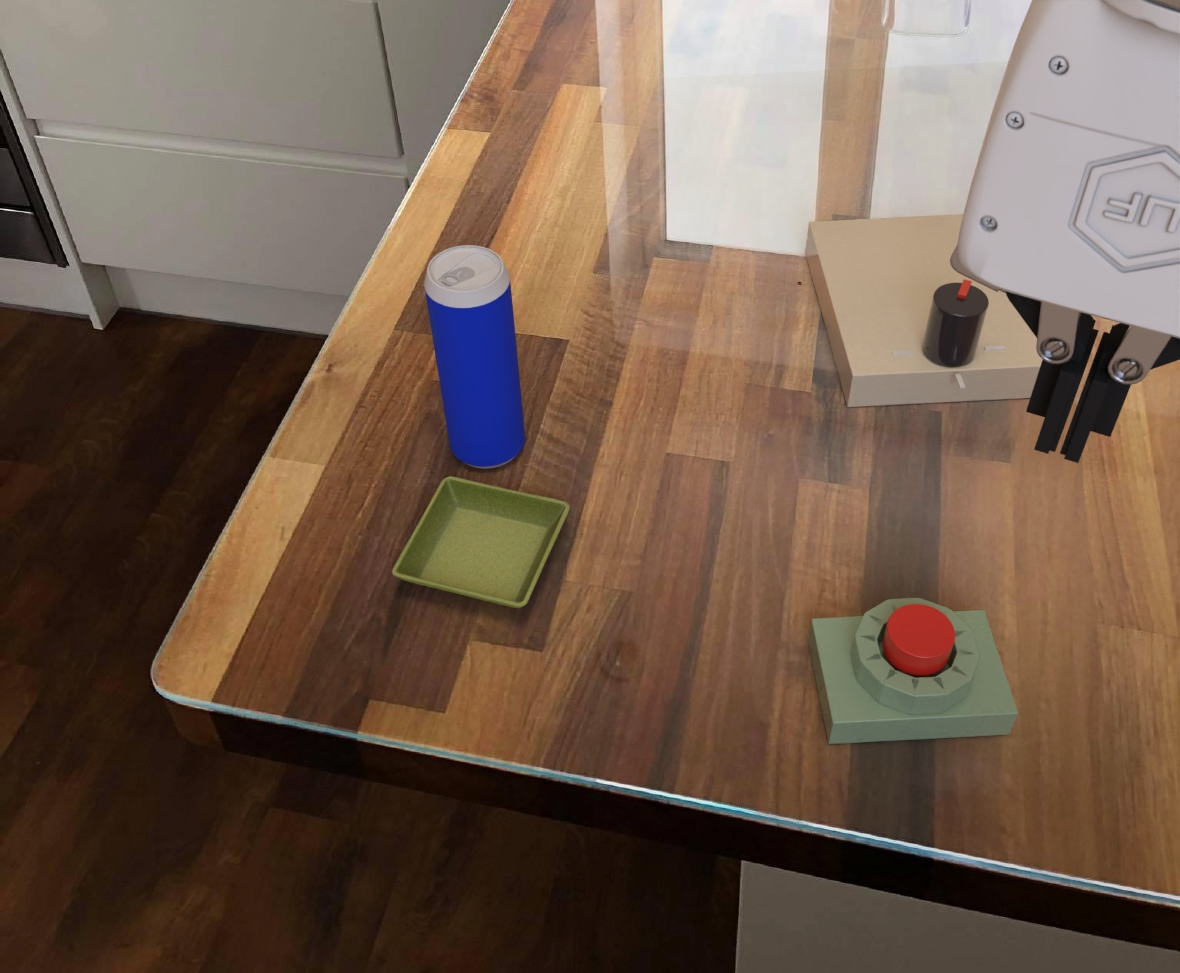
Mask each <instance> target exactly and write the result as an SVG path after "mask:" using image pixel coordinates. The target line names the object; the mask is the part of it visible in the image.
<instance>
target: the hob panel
mask: <svg viewBox="0 0 1180 973" xmlns="http://www.w3.org/2000/svg"><path fill="white" fill-rule="evenodd" d="M963 214H964V213H956V214H937V215H936V214H935V215H918V216H915V215H914V216H896V217H895V216H894V217H877V218H876V217H874V218H859V219H857V218H855V219H836V220H834V219H833V220H817V221H815V220H814V221H813V220H812V221H809V222H808V229H807V237H806V242H805V243H806V244H805V251H804V252H805V256H806V260H807V263H808V268H809V271H810V275H811V279H812V282H813V286H814V290H815V294H816V297H817V301H818V305H819V308H820V311H821V316H822V319H823V324H824V326H825V330H826V333H827V338H828V341H829V344H830V348H831V353H832V355H833V359H834V363H835V367H836V370H837V374H838V377H839V381H840V385H841V388H842V393H843V396H844V400H845V403H846V407H847V408H859V407H861V408H863V407H875V406H876V407H877V406H897V405H898V406H900V405H901V406H902V405H919V404H940V403H959V402H978V401H979V402H980V401H995V400H996V401H998V400H999V401H1000V400H1016V399H1018V400H1019V399H1030V397H1031V394H1032V391H1033V388H1034V385H1035V382H1036V379H1037V375H1038V372H1039V369H1040V366H1041V363H1042V360H1043V359H1042V358H1041V357H1040V356H1039V355H1038V353H1037V349H1036V345H1037V338H1036V336H1035V335H1034V333H1033V332H1032V331H1031V329H1030V328H1029V327H1028V325H1027V324H1026V323H1025V321H1024V320H1023V318H1022V317H1021V316H1020V314H1019V313H1018V312H1017V310H1016V309H1015V308H1014V306H1013V305H1012V303H1011V302H1010V301H1009V299H1008V297H1007V295H1006V293H1004V292H1002V291H1000V290H998V292H996V291H994V290H992V289H990V288H988V287H986V286H984V285H982V284H980V283H978V282H976V281H974V280H972V279H970V278H968V277H966V276H964V275H962V274H960V273H958V272H956V271H955V270H954V269H953V268H952V266H951V264H950V258H951V255H952V253H953V251H954V249H955V247H956V246H957V244H958V237H959V231H960V226H961V222H962V218H963ZM964 279H965V280H969V281H972V283H971V285H973V286H975V287H977V288H979V289H980V290H982V291H983V292H984V293H985V294H986V296H987V298H988V301H989V305H988V309H987V313H986V316H985V320H984V324H983V328H982V331H981V335H980V339H979V343H978V346H977V350H976V354H975V357H974V359H973V360H972V361H971V362H970V363H968V364H967V365H964V366H961V367H944V366H941V365H938V364H935V363H933V362H932V361H930V360H929V359H928V358H927V357H926V356H925V355H924V353H923V350H922V344H923V339H924V335H925V330H926V326H927V321H928V317H929V312H930V308H931V303H932V299H933V294H934V292H935V291H936V289H937V288H939V287H940V286H942V285H944V284H948V283H962V282H963V280H964Z"/></svg>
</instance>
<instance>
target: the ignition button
mask: <svg viewBox="0 0 1180 973" xmlns="http://www.w3.org/2000/svg"><path fill="white" fill-rule="evenodd" d="M954 641H955V630H954V627H953V625H952V623H951V621H950V620H949V619H948V617H947V616H946V615H944V614H943V613H942V612H941V611H939V610H937V609H935V608H933V607H931V606H927V605H923V604H909V605H905V606H902V607H900V608H898V609H897V610H895V611H894V612H893V613H892V614H891V615H890V617H889V619H888V622H887V626H886V630H885V634H884V638H883V651H884V654H885V656H886V658H887V659H888V661H889V662H890V663H891V664H892V665H893V666H894V667H896V668H897V669H899V670H900V671H902V672H905V673H907V674H910V675H915V676H927V675H932V674H934V673H937V672H938V671H940V670H941V669H943V668H944V667H945V665H946V664H947V662H948V660H949V657H950V654H951V651H952V648H953V645H954Z"/></svg>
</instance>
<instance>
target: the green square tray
mask: <svg viewBox="0 0 1180 973" xmlns="http://www.w3.org/2000/svg"><path fill="white" fill-rule="evenodd" d="M570 510H571V506H570V504H569V503H568V502H566V501H564V500H560V499H557V498H552V497H548V496H542V495H537V494H533V493H527V492H524V491H518V490H514V489H510V488H505V487H502V486H501V487H500V486H497V485H492V484H487V483H483V482H478V481H473V480H469V479H465V478H461V477H456V476H452V475H450V476H446V477H444V478H443V479H442V480H441V482H440V483H439V485H438V486H437V488H436V491H435V492H434V494H433V496H432V498H431V499H430V501H429V503H428V505H427V507H426V509H425V511H424V513H423V514H422V516H421V518H420V520H419V521H418V523H417V525H416V527H415V528H414V530H413V531H412V534H411V535H410V538H408V541H407V542H406V544H405V546H404V548H403V550H402V551H401V553H400V555H399V557H398V559H397V560H396V562H395V564H394V566H393V567H392V570H391V574H392V575H393V576H394V577H396V578H398V579H400V580H402V581H404V582H407V583H408V582H409V583H412V584H416V585H420V586H425V587H427V588H432V589H437V590H441V591H444V592H449V593H452V594H456V595H461V596H464V597H469V598H472V599H477V600H480V601H485V602H489V603H492V604H496V605H501V606H505V607H507V608H513V609H520V608H523V607H525V606H526V605H527V604H528V602H529V600H530V598H531V596H532V593H533V591H534V589H535V586H536V584H537V582H538V580H539V578H540V576H541V574H542V572H543V569H544V567H545V564H546V562H547V560H548V558H549V556H550V553H551V551H552V549H553V547H554V545H555V542H556V541H557V538H558V536H559V534H560V531H561V529H562V528H563V525H564V522H565V520H566V518H567V516H568V513H569V511H570Z"/></svg>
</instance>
